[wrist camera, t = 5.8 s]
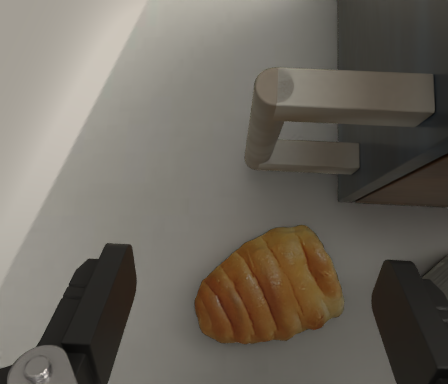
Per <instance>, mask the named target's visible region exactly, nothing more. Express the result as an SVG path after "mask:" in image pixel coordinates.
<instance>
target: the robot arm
mask: <svg viewBox="0 0 448 384" xmlns="http://www.w3.org/2000/svg"><path fill="white" fill-rule="evenodd" d="M136 284H137V278H136V271H135V264H134V257H133V250H132V246H131V245H130V244H113V243H107V244H106V245H105V247H104V249H103V251H102V253H101V255H100V257H99V259H88V260H87V261H85V262H84V263H83V264H82V265H81V266H80V267H79V268H78V269H77V270H76V271H75V273H74V275H73V277H72V279H71V281H70V283H69V287H67V289H66V291H65V293H64V295H63V299H61V301H60V303H59V304H58V306H57V308H56V310H55V312H54V314H53V316H52V318H51V320H50V322H49V324H48V326H47V328H46V330H45V332H44V334H43V336H42V338H41V340H40V342H39V343H38V345H37V346H36V347H35V348H33V349H31V350H29V351H27V352H26V353H24V354H23V355H22V356H20V357H19V358H18V359H17V360H16V361H15V363H14V364H13V365H11V366H8V367H5V368H2V369H0V384H108V381H109V377H110V374H111V371H112V368H113V365H114V361H115V358H116V355H117V352H118V348H119V345H120V342H121V339H122V336H123V332H124V329H125V326H126V323H127V320H128V316H129V313H130V310H131V307H132V303H133V300H134V297H135V293H136ZM371 302H372V310H373V314H374V317H375V320H376V323H377V326H378V329H379V332H380V335H381V338H382V341H383V344H384V347H385V350H386V353H387V356H388V359H389V362H390V365H391V368H392V371H393V374H394V377H395V380H396V383H397V384H448V300H447V298H446V296H445V294H444V293H443V292H442V291H441V290H440V289H439V288H438V287H437V286H436V285H435V284H434V283H433V282H432V281H431V280H430V279H422V278H421V276H420V274H419V272H418V270H417V268H416V266H415V264H414V263H413V262H411V261H399V260H385V261H384V263H383V265H382V268H381V270H380V273H379V276H378V279H377V281H376V284H375V287H374V289H373V292H372V300H371Z"/></svg>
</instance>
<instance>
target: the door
mask: <svg viewBox="0 0 448 384" xmlns="http://www.w3.org/2000/svg"><path fill="white" fill-rule="evenodd" d="M284 121H291V122H313V123H335V124H338V142H326V141H304V140H283V139H278V137H279V134H280V132H281V129H282V126H283V124H284ZM447 153H448V0H338V70H327V69H304V68H280V67H278V68H276V67H275V68H268V69H266V70H264V71H262V72H261V73H260V74H259V75H258V76H257V78H256V80H255V83H254V91H253V98H252V105H251V113H250V120H249V127H248V135H247V142H246V149H245V157H244V159H245V162H246V164H247V166H248V167H250V168H251V169H254V170H266V171H286V172H307V173H328V174H338V201H339V202H353V201H355V200H357V199H359V198H361V197H363V196H365V195H367V194H369V193H371V192H373V191H374V190H376V189H378V188H380V187H382V186H384V185H386V184H388V183H390V182H392V181H394V180H396V179H398V178H400V177H402V176H404V175H406V174H408V173H410V172H412V171H414V170H416V169H418V168H419V167H421V166H423V165H425V164H427V163H429V162H431V161H433V160H435V159H437V158H439V157H441V156H443V155H445V154H447Z"/></svg>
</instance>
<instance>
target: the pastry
mask: <svg viewBox="0 0 448 384" xmlns="http://www.w3.org/2000/svg"><path fill="white" fill-rule="evenodd" d="M343 310H344V297H343V295H342V288H341V285H340V283H339V280H338V276H337V273H336V271H335V268H334V265H333V262H332V260H331V258H330V256H329V255H328V254H327V253H326V252H325V250H324V246H323V244H322V243H321V241H320V240H319V239H318V237H317V236H316V234H315V233H314V232H313V231H312V230H311V229H310V228H308V227H307V226H305V225H299V226H296V227H279V228H274V229H271V230H269V231H268V232H267V233H265V234H264V235H262V236H259V237H257V238H256V239H254V240H251V241H248V242H246V243H244V244H243V245H242V246H241V247H240V248H239V249H238V250H236V251H235V252H233V253H232V254H231V255H230V256H229V258H228V259H226V260H225V261H224V262H222V263H221V264H220V265H219V266H218V267H216V268H215V270H214V271H213V272H211V273H210V274H209V275H208V276H207V277H206V278H205V279H204V280H203V281H202V283H201V285H200V288H199V290H198V294H197V296H196V298H195V311H196V315H197V317H198V321H199V326H200V329H201V331H202V333H204V334H205V335H207V336H209V337H211V338H212V339H215V340H216V341H218V342H220V343H235V342H239V343H242V344H248V343H251V344H254V343H258V342H266V341H270V340H284V341H287V340H288V339H290V338H292V337H293V336H294V335H295V334H297V333H301V332H303V331H305V330H307V329H312V330H316V329H319V328H321V327H322V326H323V325H324V324H325V323H326V322H327V321H328V320H329V319H331V318H334V317H339V316H340V315H341V314H342V312H343Z"/></svg>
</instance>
